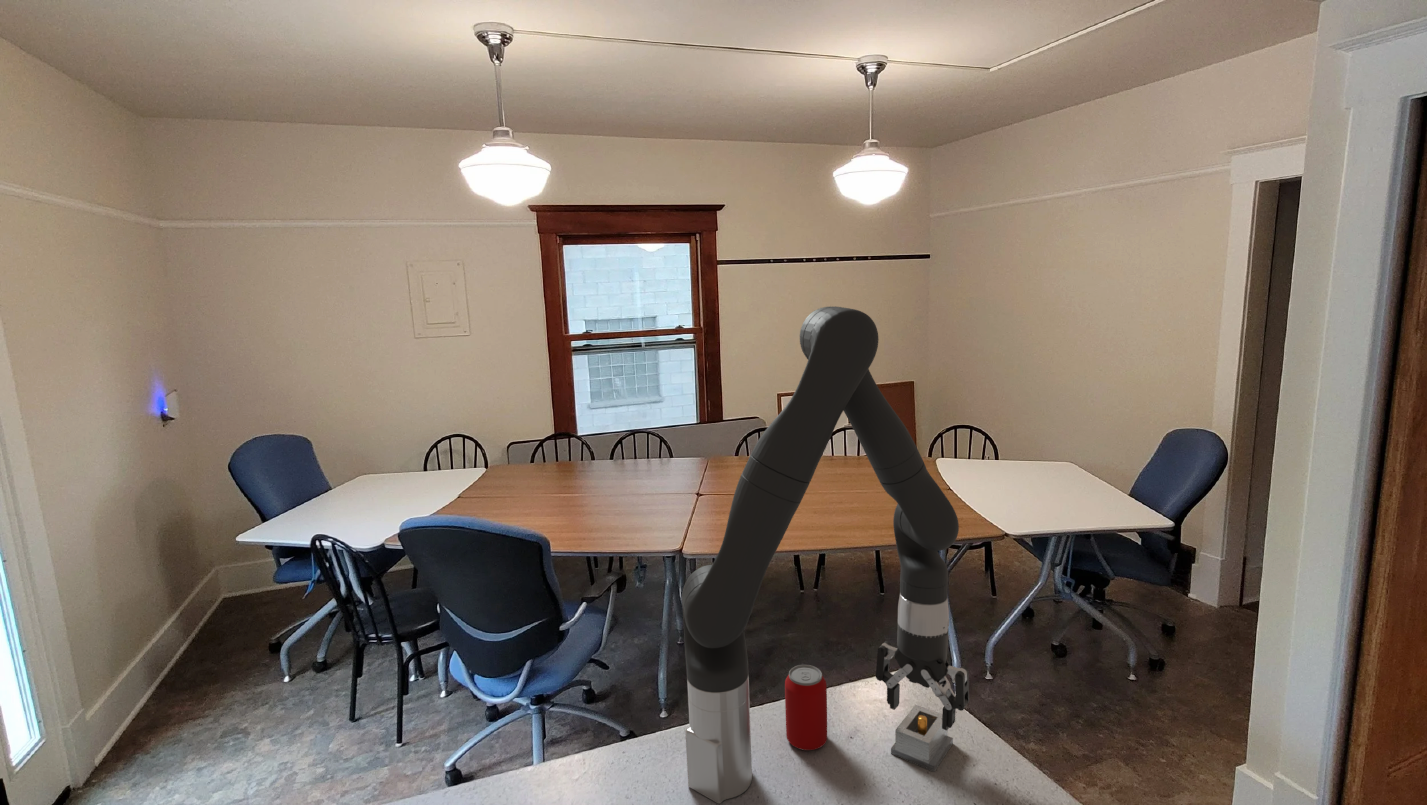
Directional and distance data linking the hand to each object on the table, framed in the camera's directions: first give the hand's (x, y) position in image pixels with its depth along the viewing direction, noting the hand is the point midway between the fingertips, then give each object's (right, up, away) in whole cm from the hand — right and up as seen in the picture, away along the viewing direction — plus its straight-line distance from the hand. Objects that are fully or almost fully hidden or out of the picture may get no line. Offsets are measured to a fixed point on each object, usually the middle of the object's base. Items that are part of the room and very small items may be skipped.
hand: (920, 716), depth 106 cm
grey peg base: (+1, -6, +1) cm, 6 cm away
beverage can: (-17, -6, +4) cm, 19 cm away
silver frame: (0, -5, +1) cm, 5 cm away
